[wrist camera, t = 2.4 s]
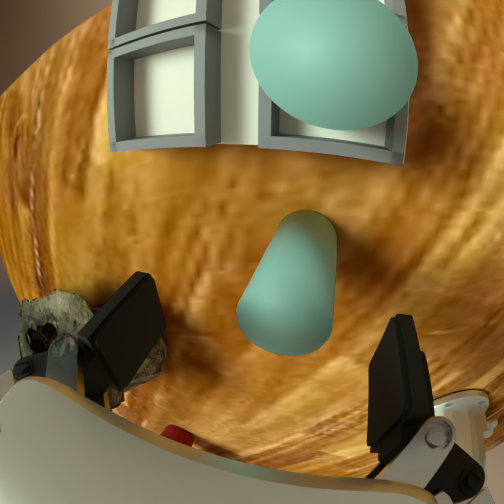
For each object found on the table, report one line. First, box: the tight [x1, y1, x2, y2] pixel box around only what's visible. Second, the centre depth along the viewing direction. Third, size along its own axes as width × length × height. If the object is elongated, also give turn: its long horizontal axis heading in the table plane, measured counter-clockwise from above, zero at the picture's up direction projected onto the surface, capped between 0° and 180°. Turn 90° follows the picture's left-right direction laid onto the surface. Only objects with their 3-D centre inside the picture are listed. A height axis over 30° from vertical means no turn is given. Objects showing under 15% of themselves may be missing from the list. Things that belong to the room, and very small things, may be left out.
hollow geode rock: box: [18, 289, 167, 411], centre depth 27 cm, size 28×13×15 cm
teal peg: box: [236, 210, 337, 356], centre depth 14 cm, size 4×4×8 cm
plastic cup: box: [160, 425, 194, 447], centre depth 39 cm, size 11×11×12 cm
